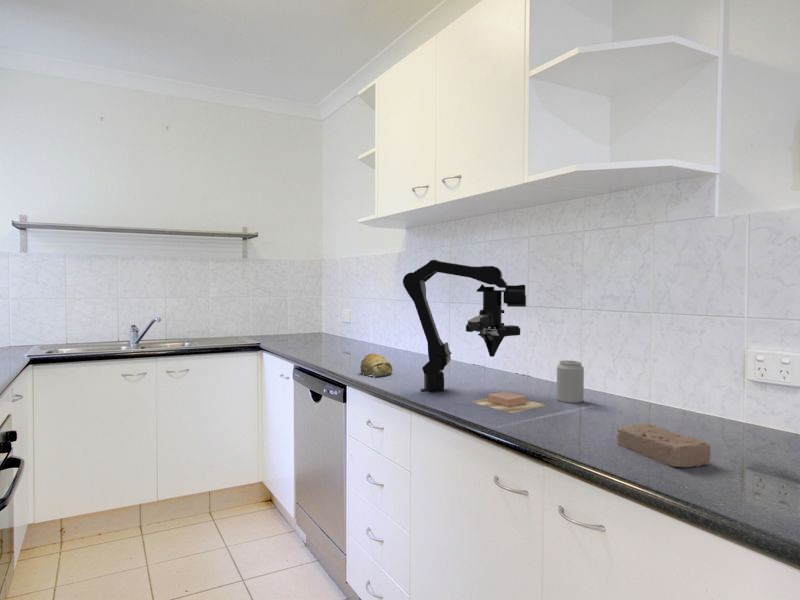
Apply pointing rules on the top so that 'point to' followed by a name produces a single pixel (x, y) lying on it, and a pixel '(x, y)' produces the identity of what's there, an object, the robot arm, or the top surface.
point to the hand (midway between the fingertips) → (491, 356)
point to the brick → (664, 445)
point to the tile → (507, 399)
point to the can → (570, 381)
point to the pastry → (375, 365)
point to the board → (511, 409)
